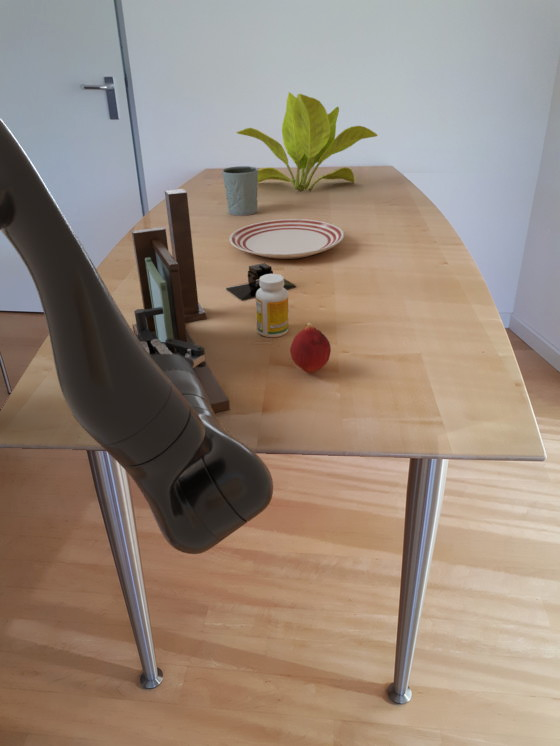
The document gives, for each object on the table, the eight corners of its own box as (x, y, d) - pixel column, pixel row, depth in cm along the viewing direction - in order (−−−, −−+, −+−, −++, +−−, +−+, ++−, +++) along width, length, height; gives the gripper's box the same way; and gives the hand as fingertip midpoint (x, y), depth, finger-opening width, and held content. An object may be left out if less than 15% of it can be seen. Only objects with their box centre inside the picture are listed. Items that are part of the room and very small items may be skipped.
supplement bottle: (251, 334, 92) (248, 280, 87) (266, 322, 96) (264, 270, 91) (279, 340, 90) (278, 286, 85) (293, 327, 94) (293, 274, 89)
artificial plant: (380, 208, 186) (392, 124, 188) (321, 148, 150) (336, 45, 152) (278, 216, 209) (290, 141, 211) (205, 166, 173) (220, 76, 175)
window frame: (170, 423, 71) (151, 294, 61) (133, 332, 94) (115, 228, 85) (229, 409, 73) (219, 283, 64) (179, 323, 96) (166, 222, 87)
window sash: (147, 380, 77) (131, 287, 70) (134, 346, 86) (119, 261, 79) (178, 373, 79) (166, 282, 71) (162, 341, 87) (150, 257, 80)
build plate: (241, 301, 105) (240, 278, 102) (225, 289, 110) (223, 267, 108) (296, 287, 110) (296, 265, 108) (277, 276, 115) (277, 255, 113)
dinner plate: (251, 273, 117) (250, 258, 115) (216, 238, 139) (215, 225, 137) (364, 256, 125) (365, 242, 124) (314, 225, 147) (314, 213, 146)
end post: (179, 323, 96) (163, 196, 85) (173, 313, 100) (157, 189, 89) (206, 318, 98) (194, 192, 87) (199, 308, 102) (187, 186, 91)
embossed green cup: (265, 210, 163) (264, 167, 157) (247, 218, 155) (244, 174, 149) (237, 206, 167) (235, 165, 161) (218, 214, 160) (215, 171, 154)
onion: (331, 364, 83) (333, 316, 79) (326, 383, 78) (328, 334, 74) (294, 361, 84) (294, 313, 80) (287, 380, 79) (286, 330, 75)
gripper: (226, 359, 61) (188, 302, 75) (105, 385, 57) (88, 320, 71) (230, 414, 65) (193, 350, 79) (117, 442, 61) (99, 369, 74)
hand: (144, 336), depth 75 cm, fingers closed
